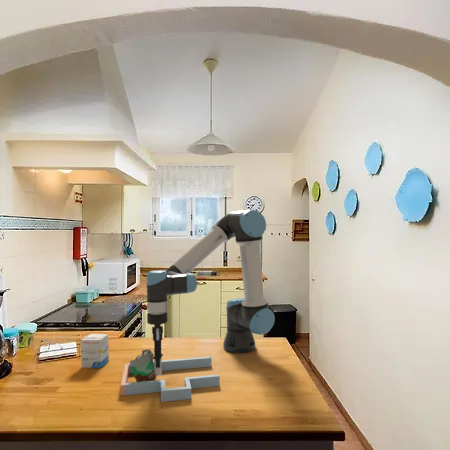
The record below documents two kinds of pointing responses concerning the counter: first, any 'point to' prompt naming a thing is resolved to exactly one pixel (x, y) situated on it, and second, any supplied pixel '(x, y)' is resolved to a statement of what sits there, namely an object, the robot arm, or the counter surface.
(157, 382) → the channel
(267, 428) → the counter surface
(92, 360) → the ink box
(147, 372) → the food container
